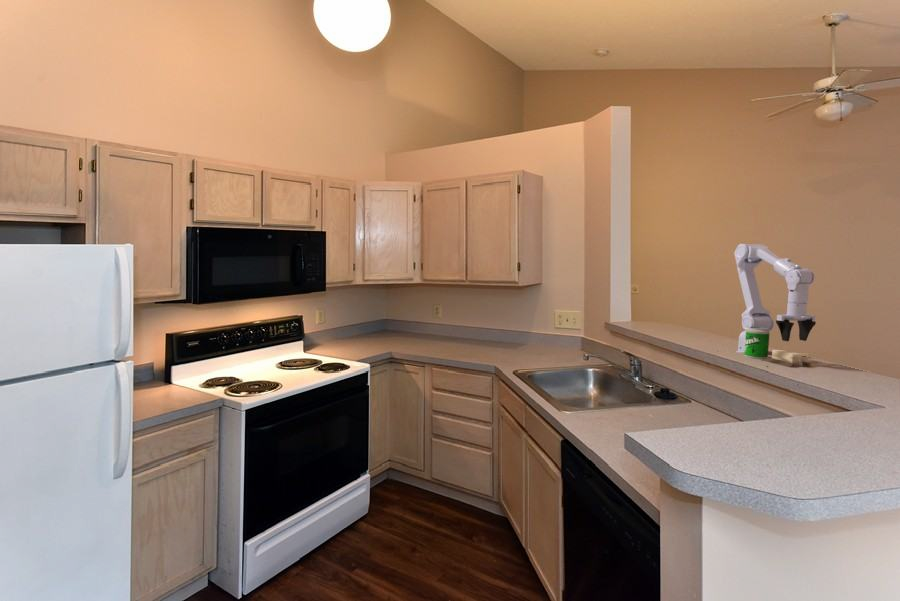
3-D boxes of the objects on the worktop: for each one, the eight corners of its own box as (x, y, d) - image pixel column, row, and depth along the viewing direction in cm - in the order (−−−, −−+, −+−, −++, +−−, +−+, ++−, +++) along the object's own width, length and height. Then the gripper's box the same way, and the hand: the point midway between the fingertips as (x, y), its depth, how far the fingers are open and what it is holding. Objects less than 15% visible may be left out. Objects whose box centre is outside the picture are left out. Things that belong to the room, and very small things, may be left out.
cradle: (760, 362, 179) (761, 353, 178) (804, 361, 184) (805, 351, 183) (790, 370, 167) (791, 360, 167) (836, 368, 172) (837, 358, 172)
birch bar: (800, 365, 171) (801, 353, 171) (791, 365, 170) (792, 354, 170) (780, 360, 179) (781, 349, 178) (771, 360, 178) (772, 349, 177)
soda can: (760, 358, 188) (763, 326, 187) (771, 362, 180) (774, 329, 179) (740, 357, 188) (742, 326, 187) (750, 361, 181) (752, 329, 180)
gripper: (790, 304, 169) (787, 343, 171) (824, 303, 173) (821, 342, 174) (773, 301, 176) (770, 339, 177) (806, 301, 179) (802, 338, 181)
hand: (794, 340), depth 176 cm, fingers open, 7 cm apart
